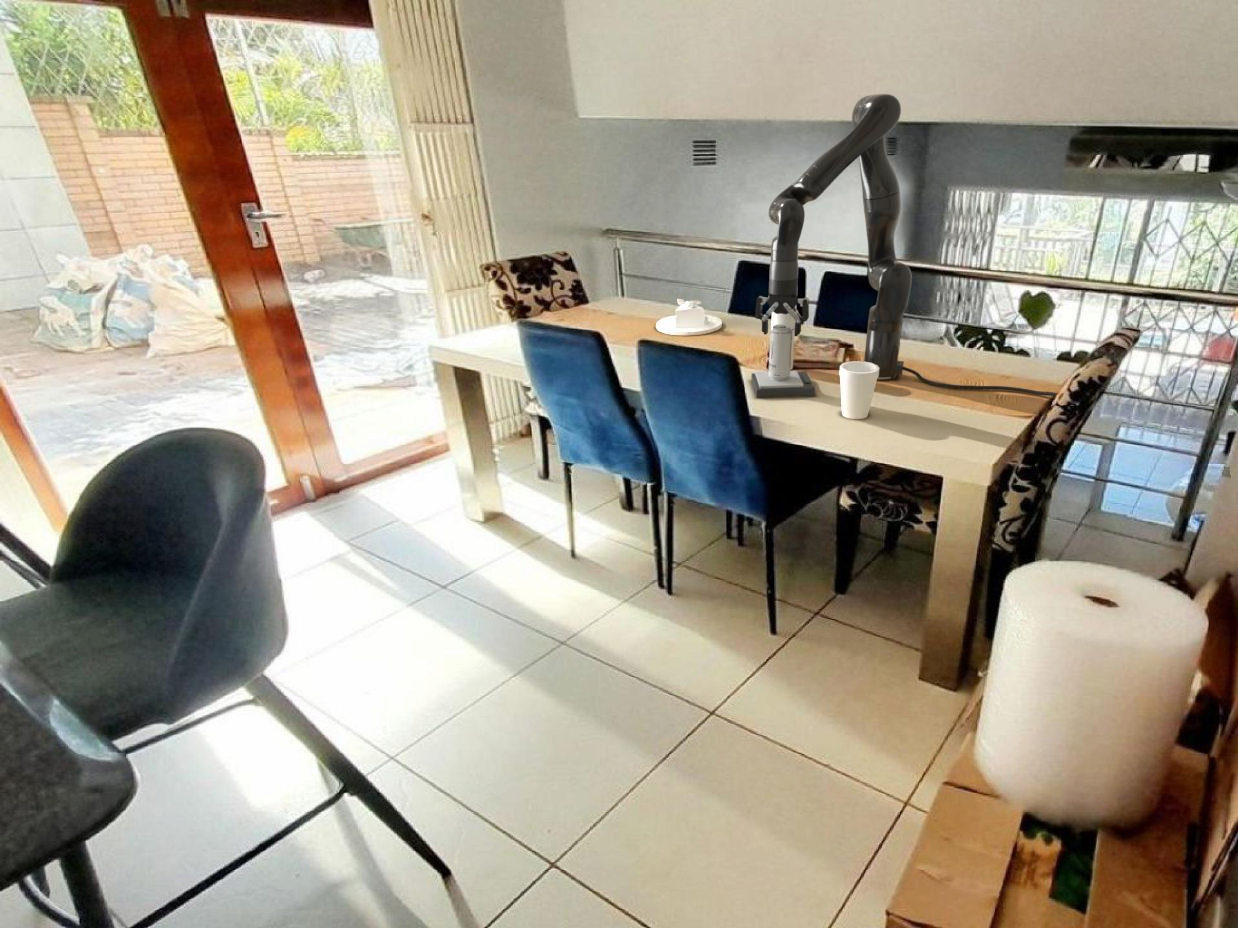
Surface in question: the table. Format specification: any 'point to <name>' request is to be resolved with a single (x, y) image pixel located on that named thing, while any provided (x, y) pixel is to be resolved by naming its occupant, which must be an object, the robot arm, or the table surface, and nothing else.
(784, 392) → the scale
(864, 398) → the foam cup
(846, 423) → the table surface
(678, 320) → the dish
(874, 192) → the robot arm
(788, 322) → the cylindrical container
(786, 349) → the energy drink can
